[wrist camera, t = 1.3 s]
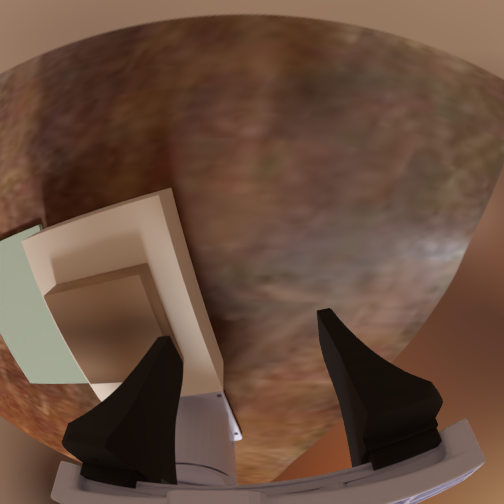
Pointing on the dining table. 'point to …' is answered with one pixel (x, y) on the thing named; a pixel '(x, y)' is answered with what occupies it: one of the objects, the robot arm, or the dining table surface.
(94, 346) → the walnut tile
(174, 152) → the dining table surface
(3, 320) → the mat
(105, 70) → the dining table surface
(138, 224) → the cream flat block
